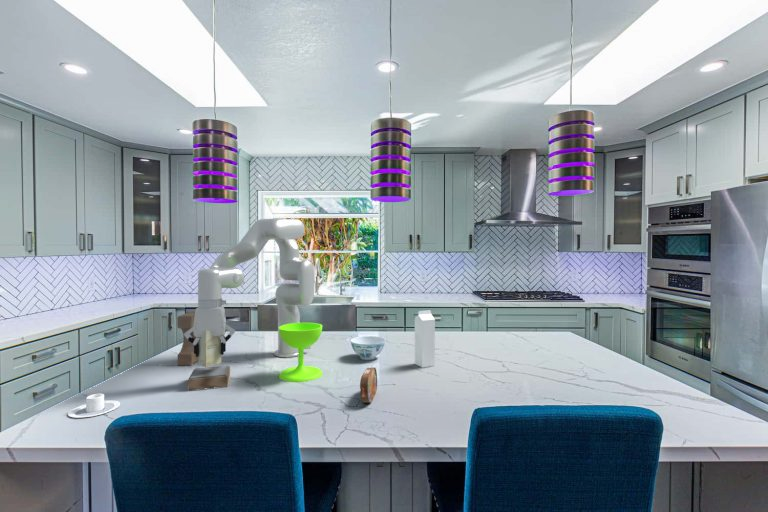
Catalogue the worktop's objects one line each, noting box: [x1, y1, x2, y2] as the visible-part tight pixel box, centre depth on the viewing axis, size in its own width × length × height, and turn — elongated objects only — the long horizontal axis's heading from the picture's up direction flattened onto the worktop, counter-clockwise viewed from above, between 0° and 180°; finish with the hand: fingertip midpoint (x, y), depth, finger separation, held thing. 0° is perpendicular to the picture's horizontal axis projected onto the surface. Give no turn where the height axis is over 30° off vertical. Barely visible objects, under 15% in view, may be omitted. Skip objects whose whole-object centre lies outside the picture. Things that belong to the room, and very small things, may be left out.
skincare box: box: [197, 331, 222, 368], centre depth 132 cm, size 6×4×12 cm
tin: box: [359, 367, 378, 404], centre depth 119 cm, size 15×3×8 cm, turn 171°
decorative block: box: [176, 311, 199, 367], centre depth 157 cm, size 11×6×20 cm, turn 5°
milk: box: [414, 309, 436, 368], centre depth 153 cm, size 6×6×22 cm
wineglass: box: [278, 322, 324, 383], centre depth 141 cm, size 16×16×18 cm
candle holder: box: [67, 393, 121, 419], centre depth 110 cm, size 12×12×4 cm
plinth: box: [187, 365, 231, 391], centre depth 132 cm, size 12×12×4 cm
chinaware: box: [350, 335, 386, 361], centre depth 163 cm, size 15×15×8 cm
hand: (210, 354), depth 132 cm, fingers closed on skincare box, 7 cm apart
